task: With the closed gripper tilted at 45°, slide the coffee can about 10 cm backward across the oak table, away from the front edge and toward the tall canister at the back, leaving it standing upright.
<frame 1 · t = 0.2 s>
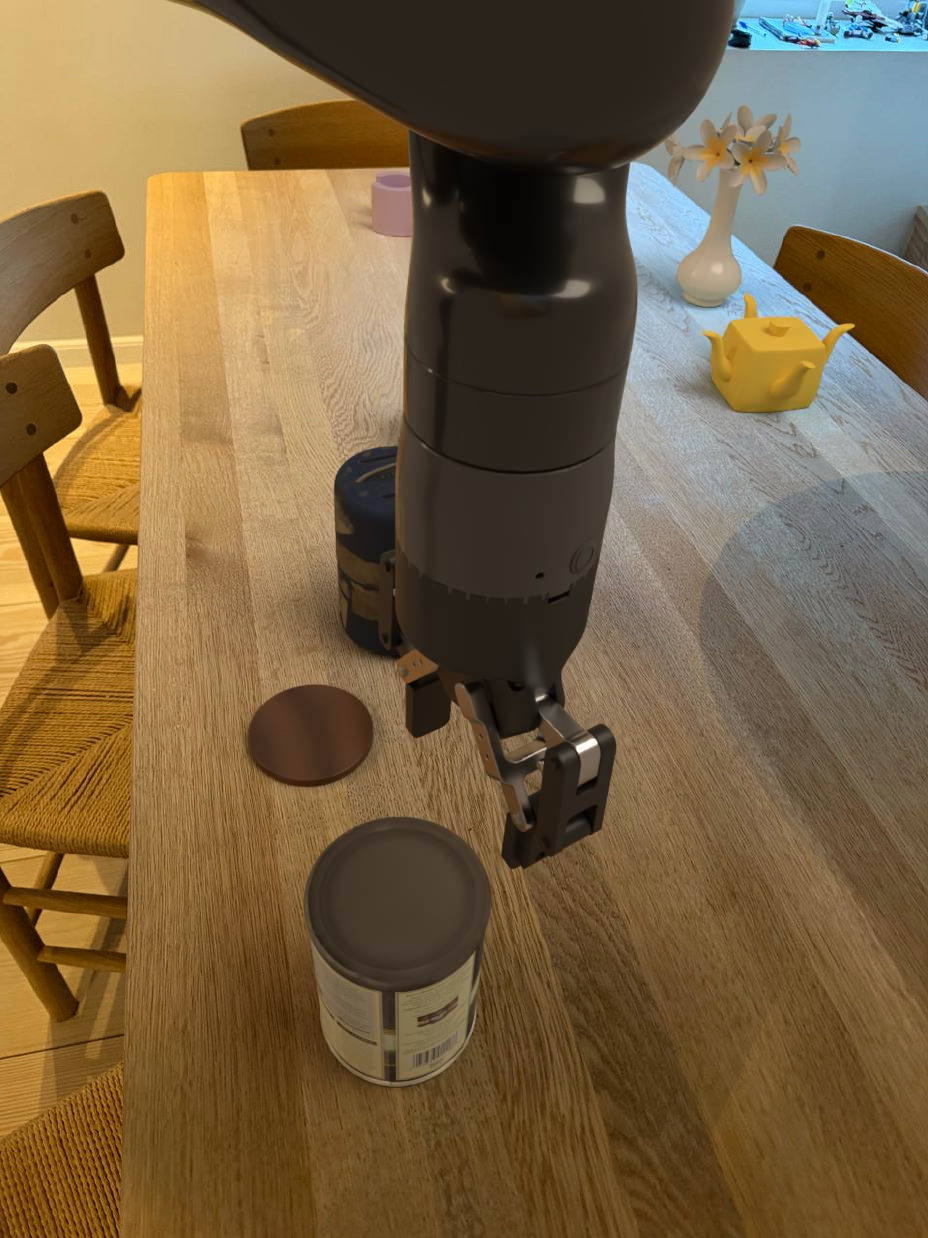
hand: (473, 788, 46), 24 cm above the table, tool pointing down, fingers open, 8 cm apart
canister: (392, 627, 88), on the table
teapot: (758, 393, 121), on the table
dark brown wooden coaster: (311, 736, 78), on the table
flower vase: (700, 300, 139), on the table
coffee can: (397, 1007, 62), on the table
clip: (436, 230, 152), on the table
cup: (451, 448, 109), on the table
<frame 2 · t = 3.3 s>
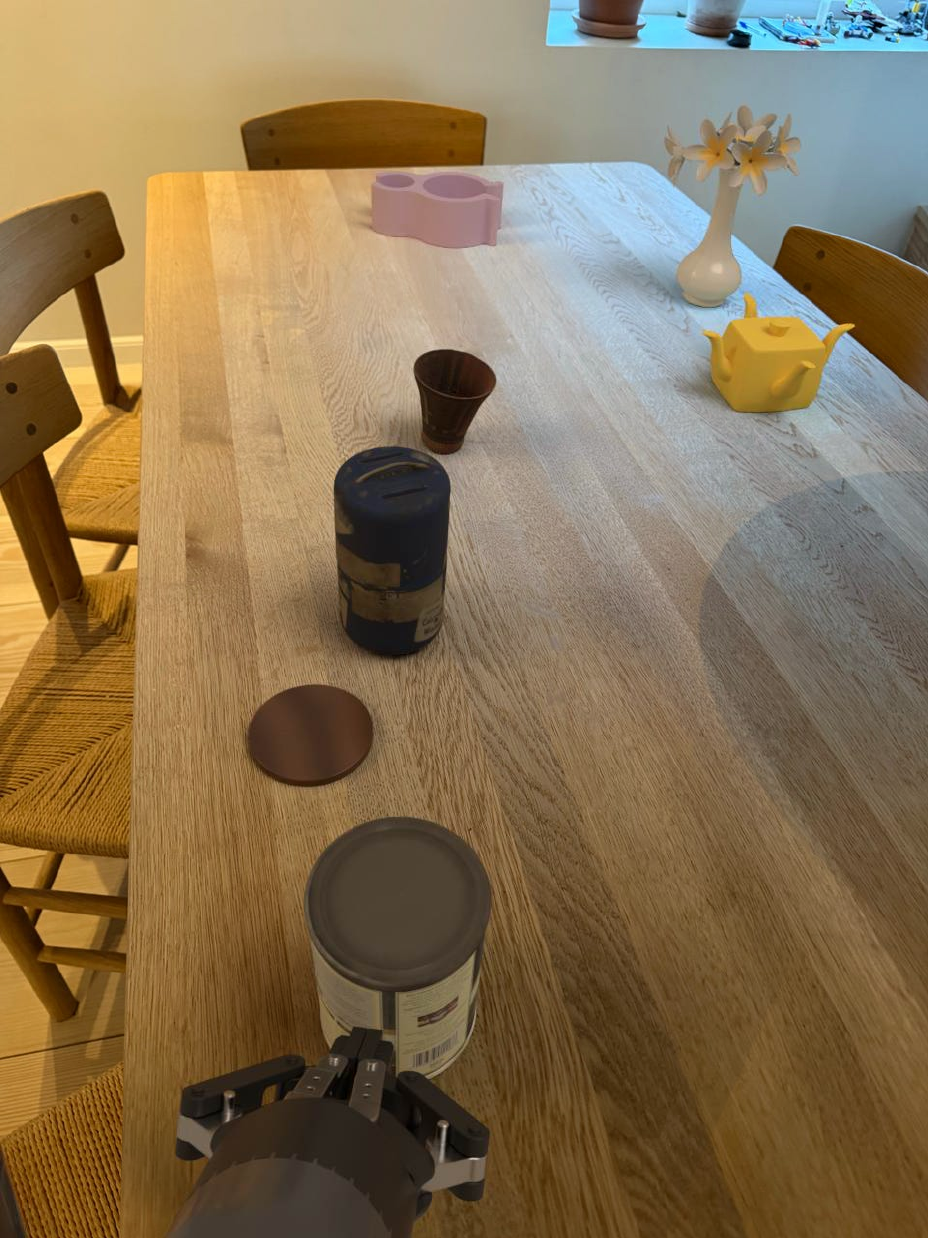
hand: (366, 1047, 46), 14 cm above the table, tool tilted 45°, fingers closed
nothing on the table moved.
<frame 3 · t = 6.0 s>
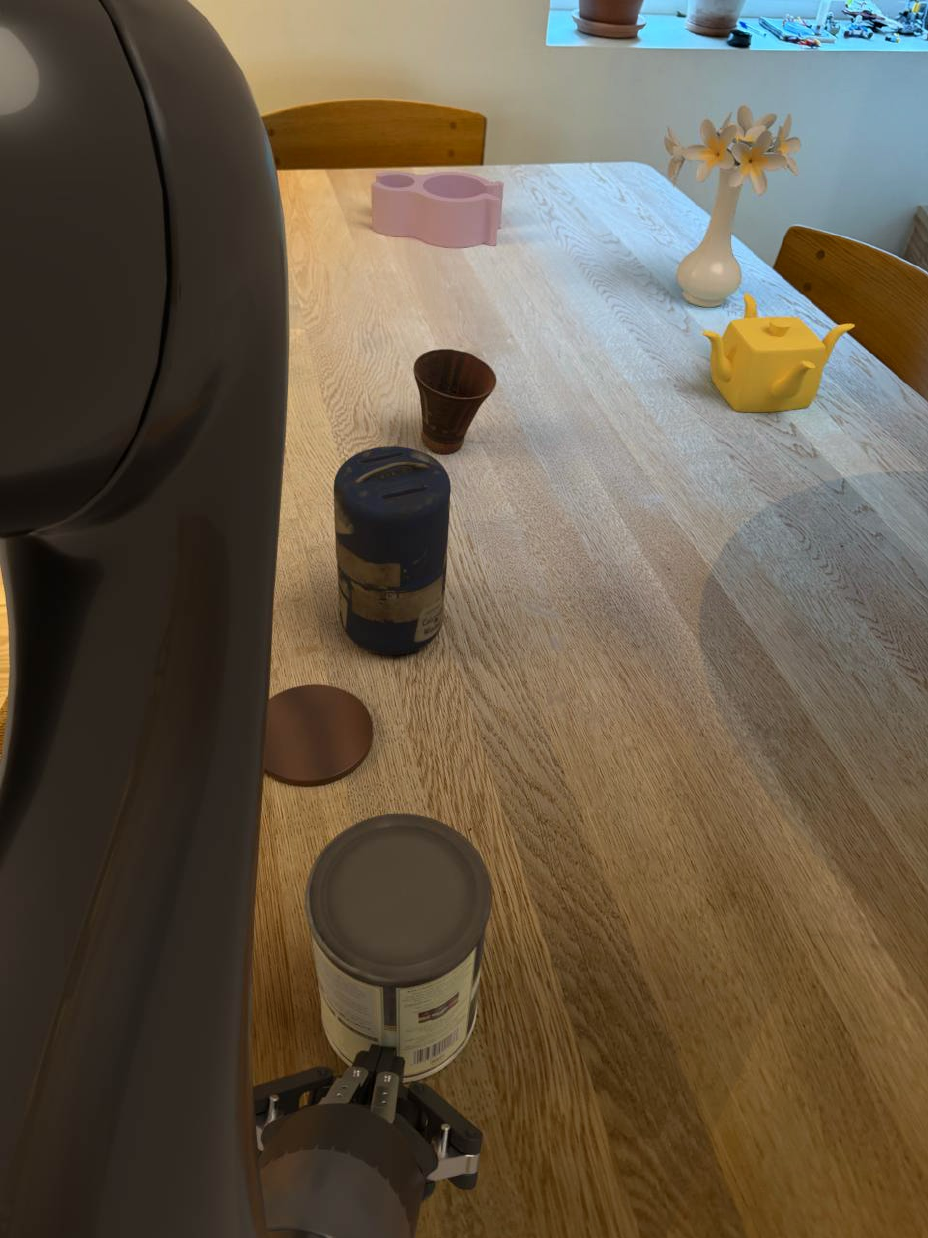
hand: (381, 1061, 56), 4 cm above the table, tool tilted 45°, fingers closed
coffee can: (398, 1004, 63), on the table, touching gripper
everything else where it was.
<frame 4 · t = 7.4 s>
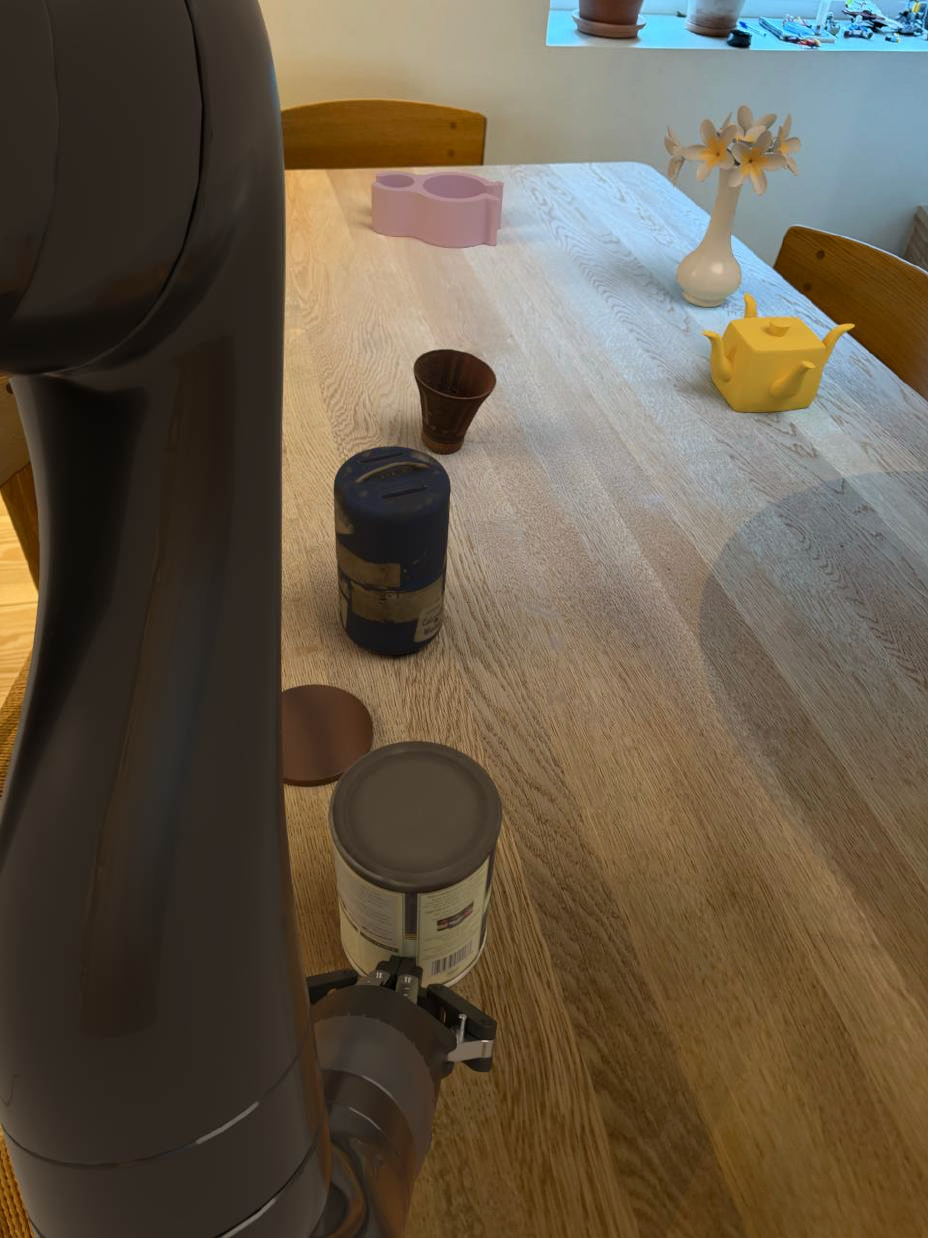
hand: (400, 971, 60), 4 cm above the table, tool tilted 45°, fingers closed
coffee can: (412, 927, 67), on the table, touching gripper
everything else where it was.
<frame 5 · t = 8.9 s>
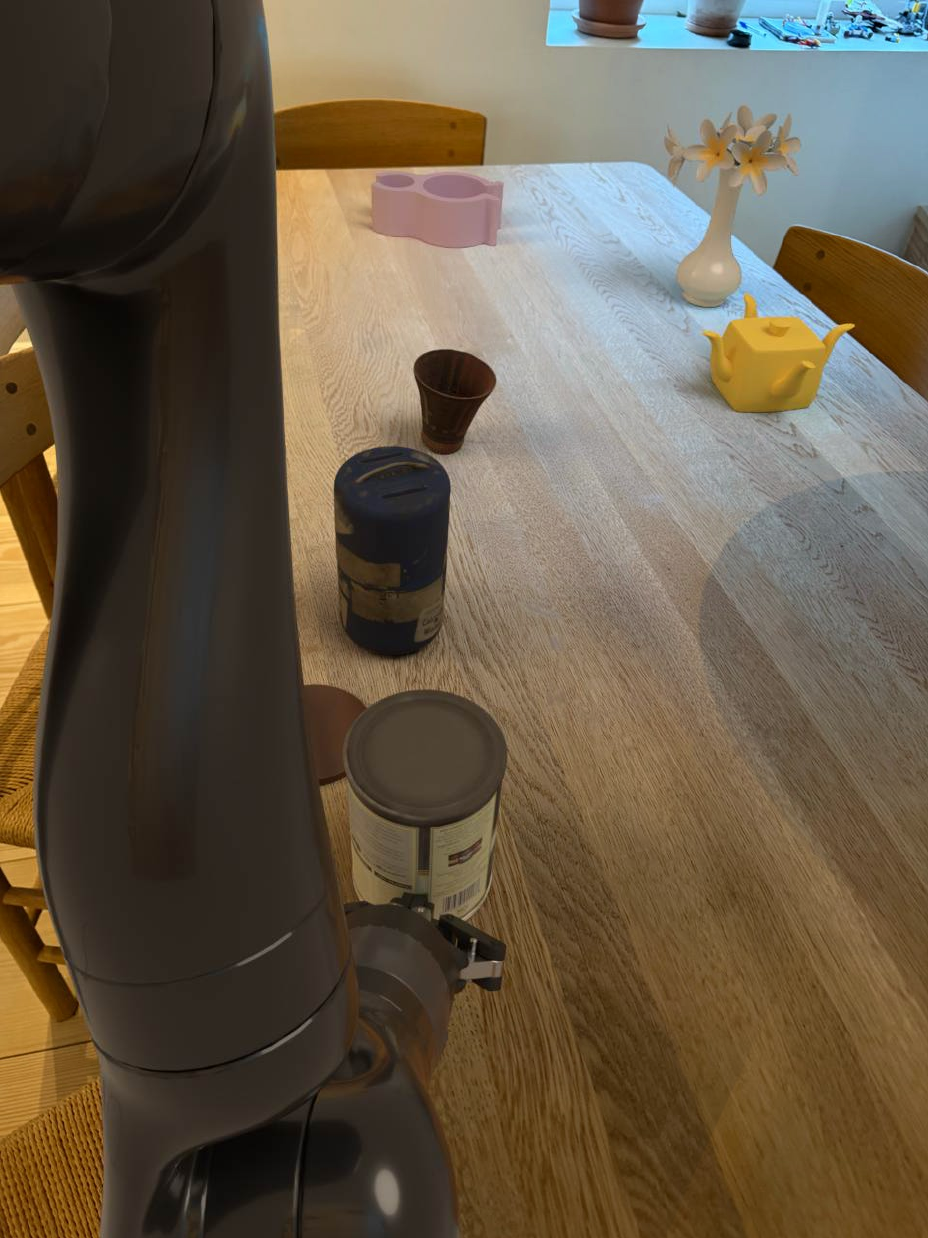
hand: (413, 908, 63), 4 cm above the table, tool tilted 45°, fingers closed
coffee can: (421, 872, 70), on the table, touching gripper
everything else where it was.
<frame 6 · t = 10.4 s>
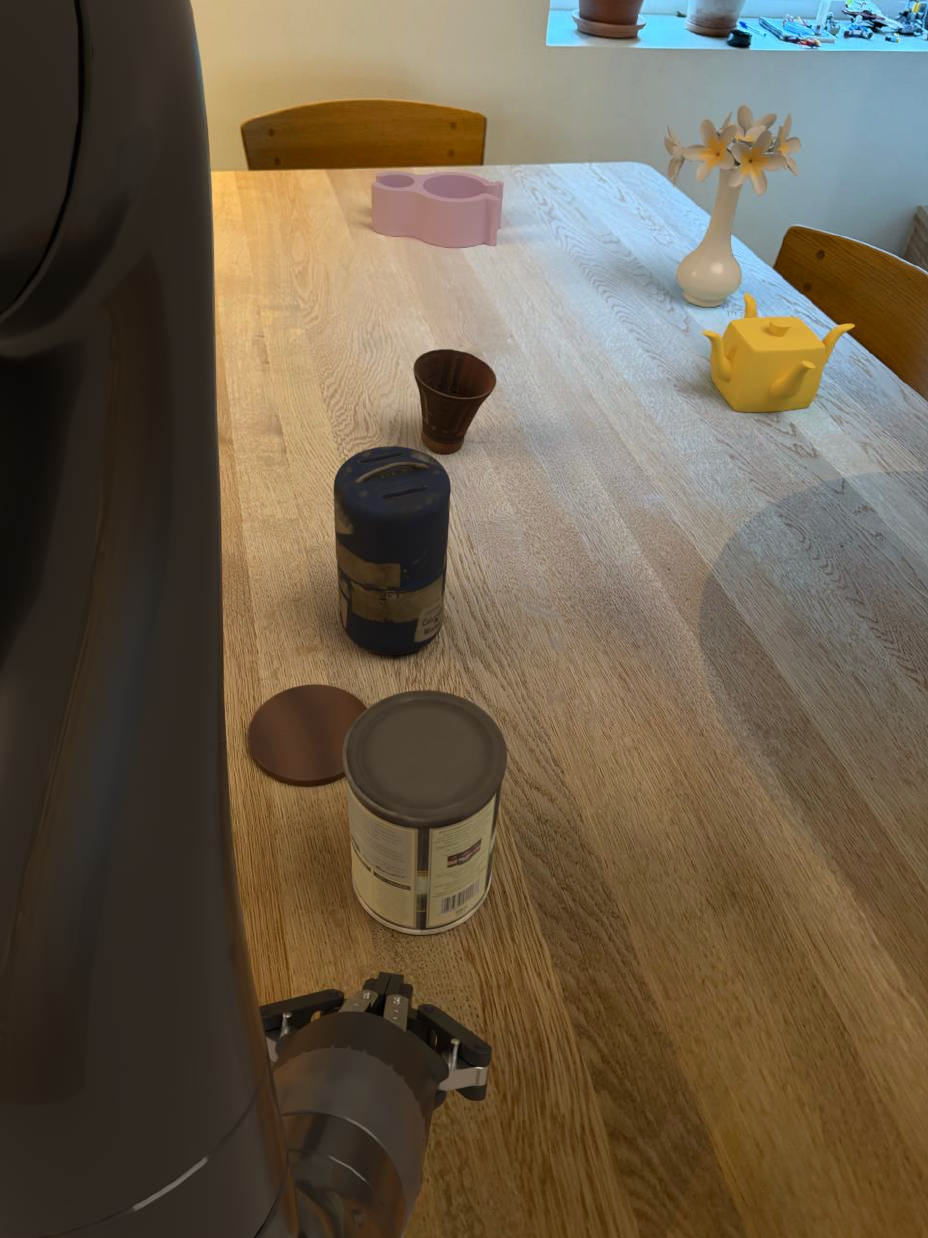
hand: (389, 989, 57), 6 cm above the table, tool tilted 45°, fingers closed
coffee can: (420, 872, 70), on the table
everything else where it was.
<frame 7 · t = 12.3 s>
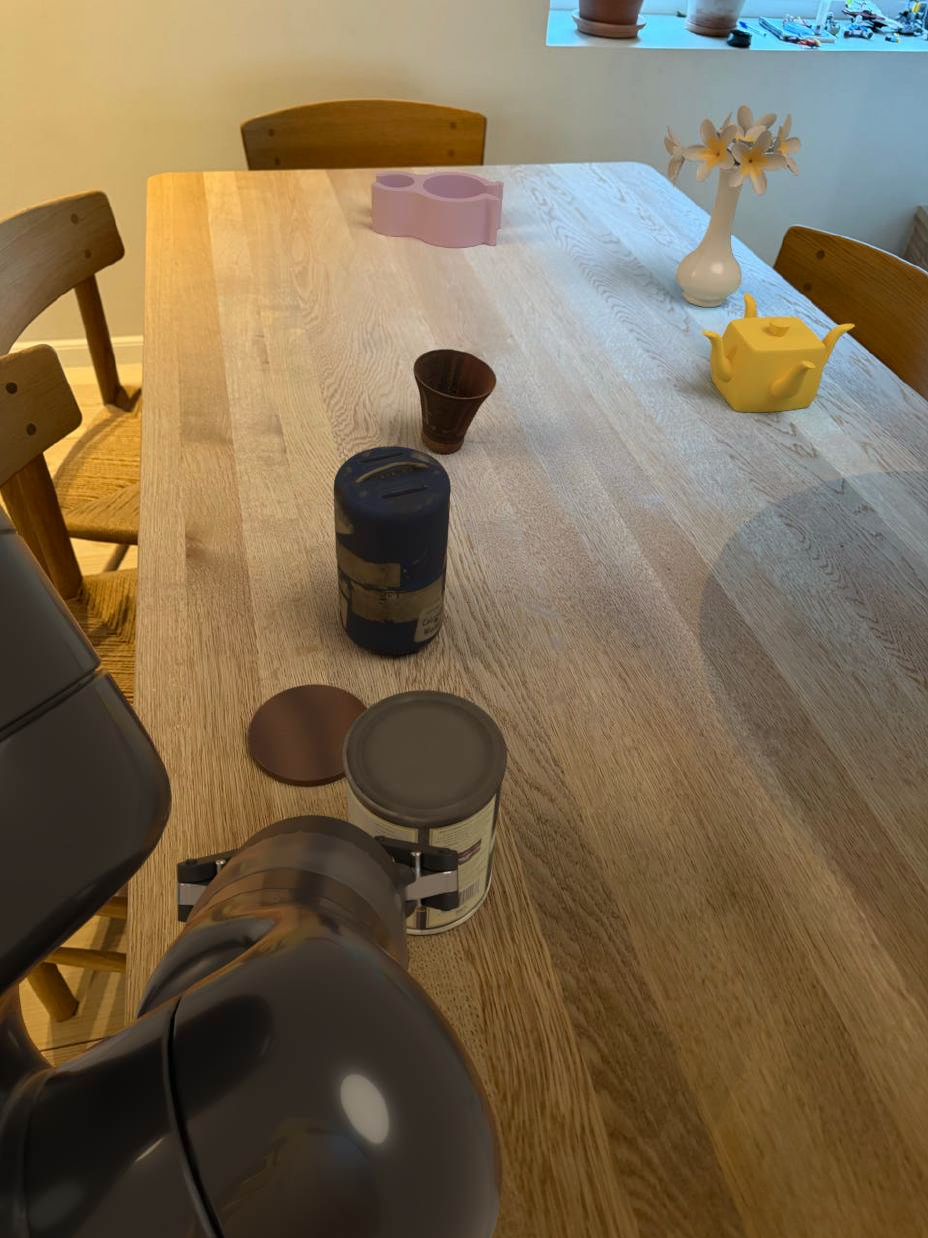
hand: (332, 847, 51), 17 cm above the table, tool tilted 45°, fingers closed
nothing on the table moved.
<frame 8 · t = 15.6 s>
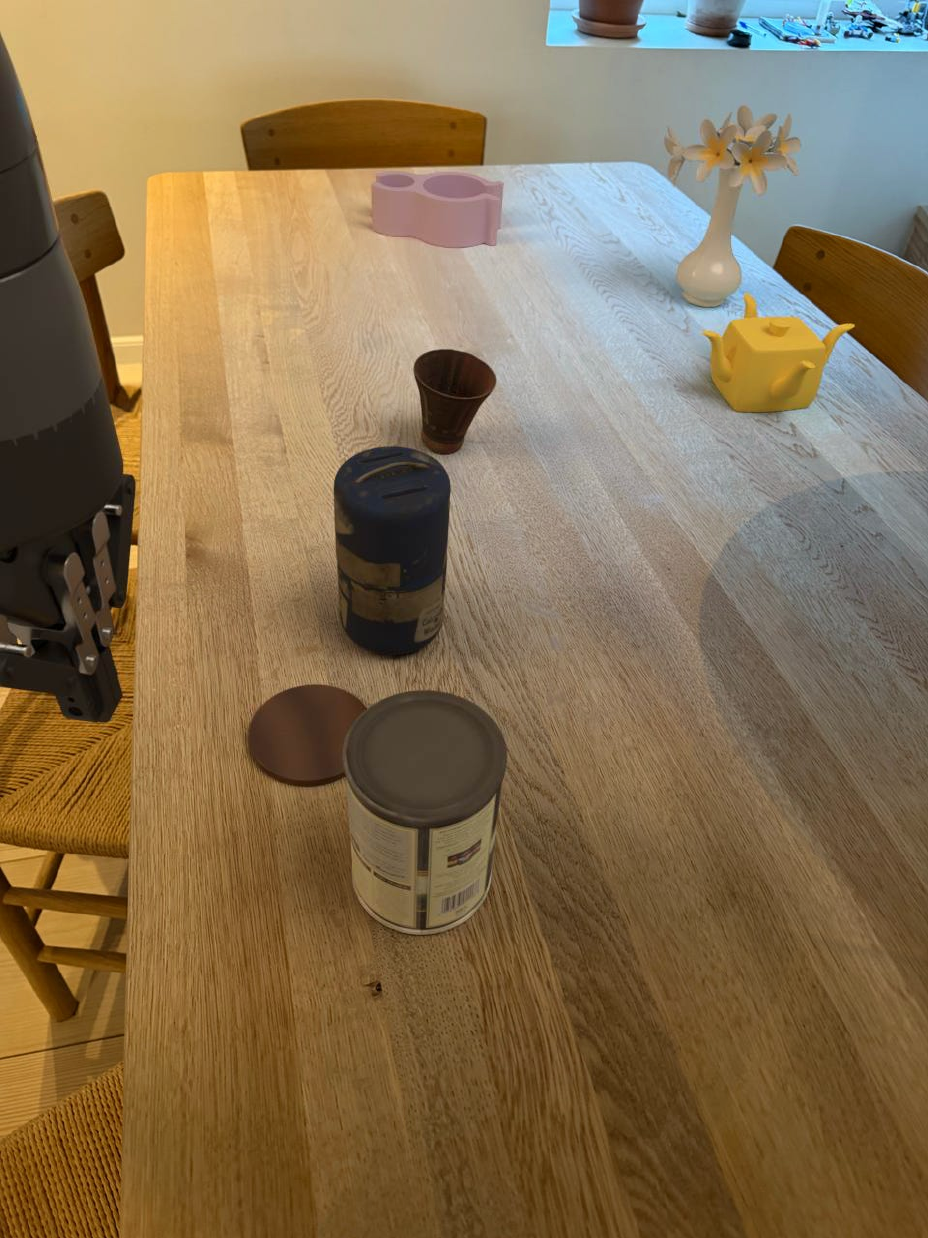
hand: (95, 709, 44), 27 cm above the table, tool pointing down, fingers closed
nothing on the table moved.
at the end: coffee can moved 10.1 cm from its start; coffee can 25.5 cm from the canister (horizontally); coffee can tilted 0° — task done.
